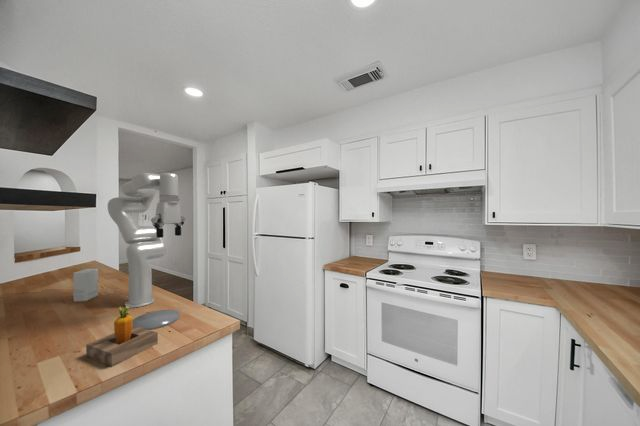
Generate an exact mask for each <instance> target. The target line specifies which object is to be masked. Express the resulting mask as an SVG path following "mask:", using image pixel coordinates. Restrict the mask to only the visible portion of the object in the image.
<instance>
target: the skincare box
mask: <svg viewBox="0 0 640 426" xmlns="http://www.w3.org/2000/svg"><path fill="white" fill-rule="evenodd" d="M98 285H99V269H98V268H85V269H81V270H79V271H75V272H73V302H87V301H89V300H92V299H94V298H96V297H98V296H99V286H98Z"/></svg>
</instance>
